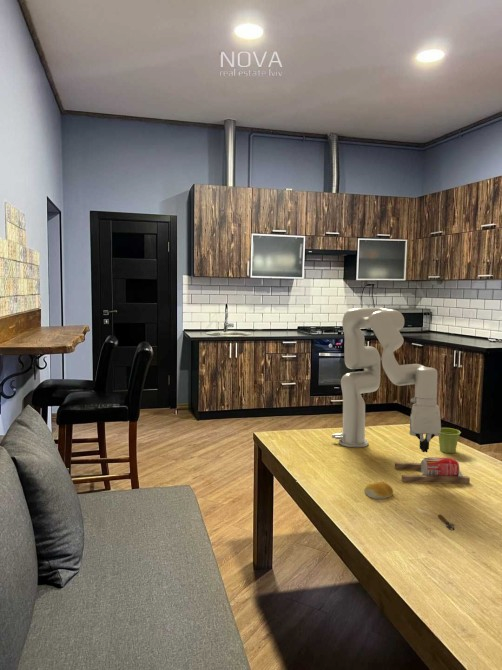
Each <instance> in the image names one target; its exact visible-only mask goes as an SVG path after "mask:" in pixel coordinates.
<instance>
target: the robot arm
mask: <svg viewBox="0 0 502 670" xmlns="http://www.w3.org/2000/svg"><path fill="white" fill-rule="evenodd" d="M403 327H405V317H404V315H403V314H402V312H400V311H399V310H396V309H392V308H390V309H389V308H383V307H356V308H351V309H348V310H347V311H346V312H345V313H344V314H343V317H342V329H343V330H342V331H343V336H344V342H343V343H344V347H343V348H344V353H343V355H344V364H345V366H346V368H347V369H350V370H358V371H352V372H347V373H345V374H344V375H343V376H342V377H341V380H340V386H341V393H342V430H341V432H340V433H332V434H331V438H332V439H335V440H338V444H340V445H341V446H344V447H346V448H364V447H367V446H368V445H369V440H368V439H366V438H365V436H366V432H365V431H366V427H365V426H366V402H365V400H364V398H363V397H362V394H366V393H368V394H369V393H373V392H376V391H377V390H379V388H380V385H381V367H382V368H383V371H384V373H385V375H386V376H387V378H388V379H389V380H390V382H391V383H392V384H393V385H395V386H398V387H400V386H410V385H414V397H412V398H410V402H411V403H413V404H412V407H411V411H410V417H409V418H410V419H409V432H408V433H409V435H410V436H413V437H416V438H417V439H418V440H419V450H420V451H421V452H422V453H428V452H429V451H428V450H430V442H431V441H432V440H433V438H435V437H439V435H440V431H441V428H442V423H441V411H440V410H441V409H440V406H439V405H438V404H437V403H438V370H437V369H436V368H434V367H429V366H424V365H423V364H420V363H412V364H411V363H409V364H408V363H407V364H400V365H399V363H398V361H397V359H396V357H395V355H394V354H395V353H394V352H396V351H397V350H398V349H400V348H401V347H402V346H403V344H404V336H403V335H402V334H401V332H400V330H402V329H403ZM369 328H371V330H372V331H373V333H374V335H375V337H376V338H377V339H378V341H379V344H380V346H381V347H382V348H383V349H382V353H381V355H380V353H379V350H378V349H377V348H376V347H374V346H372V345H371V346H370V345H369V346H368V345H367V346H366V345H365V342H366V341H365V335H364V333H363V331H362V329H369ZM381 364H382V366H381ZM359 369H360V370H361V369H363V370H362V371H360V370H359ZM424 435H425V436H424Z"/></svg>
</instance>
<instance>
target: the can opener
mask: <svg viewBox="0 0 502 670" xmlns="http://www.w3.org/2000/svg"><path fill="white" fill-rule="evenodd" d="M437 517H438V519H440V520H441V521H442V522H443V523H444V524H445V525H446V526H445V527H446V528H447V530H449V531H454V530H455V524H452V523H450V521H448V520H447V519H446V518H445V517H444V516H443V515H442V514H438V515H437Z"/></svg>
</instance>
